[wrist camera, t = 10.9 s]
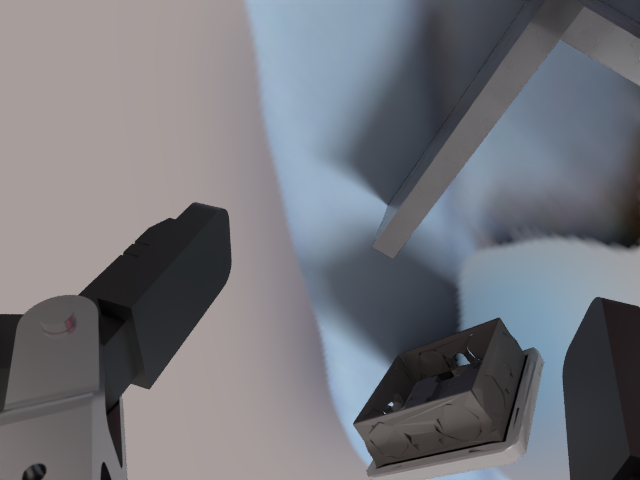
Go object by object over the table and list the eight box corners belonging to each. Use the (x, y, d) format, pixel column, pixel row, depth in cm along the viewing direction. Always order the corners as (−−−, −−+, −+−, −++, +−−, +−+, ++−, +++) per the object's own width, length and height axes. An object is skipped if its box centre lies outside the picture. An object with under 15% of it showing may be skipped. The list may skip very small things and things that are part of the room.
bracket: (917, 188, 21) (987, 244, 18) (654, 358, 29) (670, 416, 26) (547, -30, 20) (553, -12, 17) (387, 206, 29) (372, 247, 26)
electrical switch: (420, 392, 37) (388, 510, 29) (378, 339, 36) (333, 447, 28) (546, 353, 31) (546, 485, 24) (500, 290, 30) (485, 407, 23)
